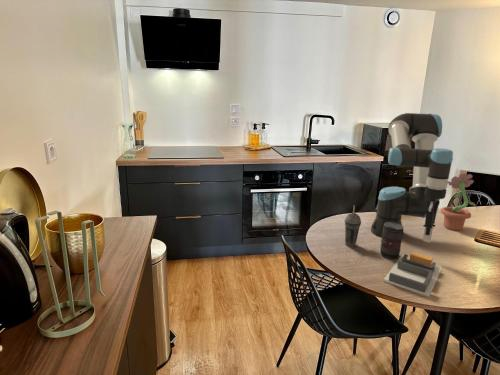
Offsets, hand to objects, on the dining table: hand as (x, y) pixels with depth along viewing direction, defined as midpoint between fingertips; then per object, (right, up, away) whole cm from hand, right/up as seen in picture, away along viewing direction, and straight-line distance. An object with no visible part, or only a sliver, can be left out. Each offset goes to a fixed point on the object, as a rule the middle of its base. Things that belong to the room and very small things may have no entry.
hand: (426, 241), depth 146 cm
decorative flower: (+33, +1, +36) cm, 49 cm away
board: (-10, -12, -10) cm, 18 cm away
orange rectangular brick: (-4, -9, -2) cm, 10 cm away
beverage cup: (-28, -4, +15) cm, 32 cm away
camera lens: (-14, -8, +4) cm, 17 cm away
